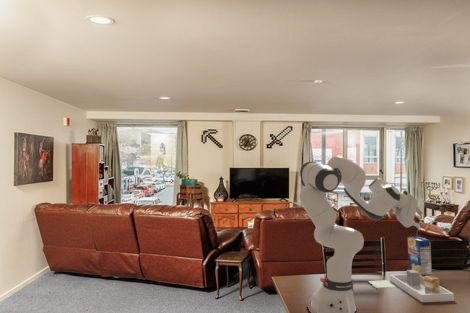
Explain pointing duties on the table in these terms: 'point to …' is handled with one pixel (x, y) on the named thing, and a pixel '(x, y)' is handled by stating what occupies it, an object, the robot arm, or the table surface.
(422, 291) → the bin
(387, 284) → the sage board
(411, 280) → the grey box
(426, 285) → the banded box
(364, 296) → the table surface
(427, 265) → the beverage box
